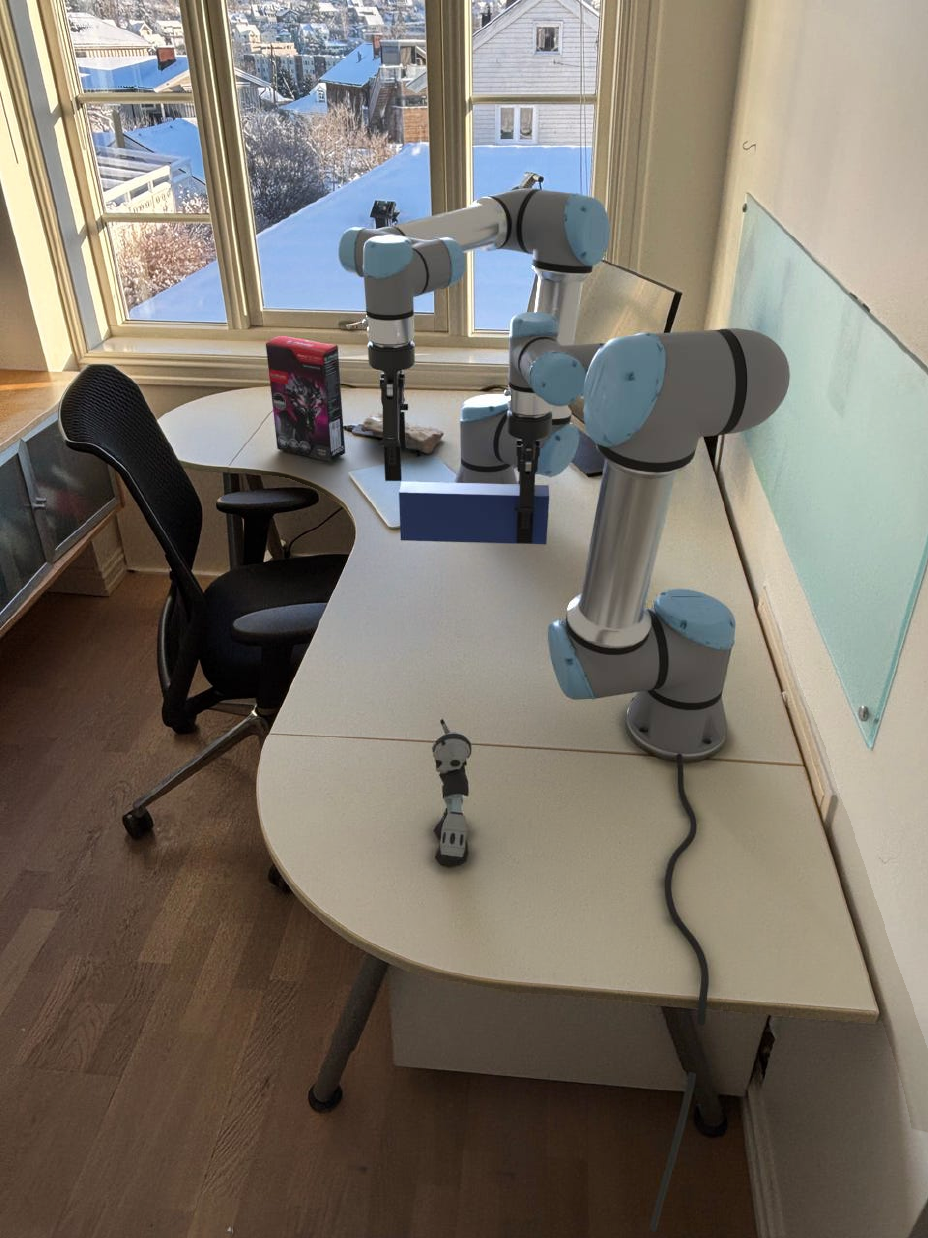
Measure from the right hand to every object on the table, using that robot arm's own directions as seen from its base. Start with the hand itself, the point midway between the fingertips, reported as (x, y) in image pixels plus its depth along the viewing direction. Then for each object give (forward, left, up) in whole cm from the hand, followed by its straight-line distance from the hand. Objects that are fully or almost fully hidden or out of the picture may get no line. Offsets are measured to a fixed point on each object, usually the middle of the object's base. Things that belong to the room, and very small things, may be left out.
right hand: (524, 534), depth 165 cm
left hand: (-4, +22, +13) cm, 26 cm away
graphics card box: (+53, +65, -14) cm, 85 cm away
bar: (-2, +9, -1) cm, 9 cm away
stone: (+65, +46, -14) cm, 81 cm away
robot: (-61, -4, -14) cm, 63 cm away
